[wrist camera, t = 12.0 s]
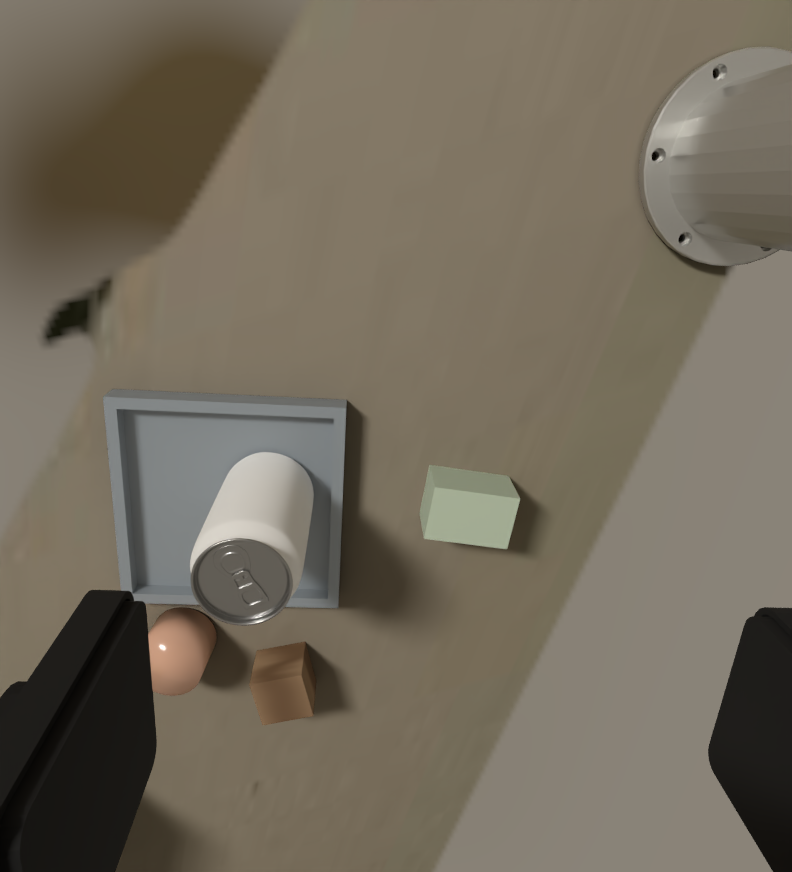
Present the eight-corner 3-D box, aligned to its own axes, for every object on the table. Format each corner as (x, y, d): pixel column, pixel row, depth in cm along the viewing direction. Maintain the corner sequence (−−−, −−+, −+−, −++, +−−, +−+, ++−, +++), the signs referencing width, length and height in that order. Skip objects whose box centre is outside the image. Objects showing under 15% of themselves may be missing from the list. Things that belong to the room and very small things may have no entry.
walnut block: (305, 641, 54) (301, 675, 50) (316, 679, 55) (313, 716, 51) (256, 650, 54) (249, 684, 50) (269, 688, 55) (262, 725, 51)
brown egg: (163, 598, 51) (143, 630, 48) (224, 620, 52) (210, 653, 48) (146, 647, 53) (126, 682, 49) (206, 668, 54) (190, 704, 50)
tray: (346, 400, 47) (346, 408, 45) (338, 594, 52) (338, 608, 50) (112, 389, 45) (103, 396, 44) (130, 589, 51) (122, 602, 49)
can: (290, 435, 47) (268, 514, 35) (329, 511, 49) (319, 608, 38) (208, 470, 47) (160, 558, 36) (249, 543, 49) (217, 647, 38)
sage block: (508, 475, 49) (520, 498, 46) (496, 522, 51) (507, 549, 47) (429, 464, 49) (434, 487, 45) (419, 512, 50) (424, 538, 46)
